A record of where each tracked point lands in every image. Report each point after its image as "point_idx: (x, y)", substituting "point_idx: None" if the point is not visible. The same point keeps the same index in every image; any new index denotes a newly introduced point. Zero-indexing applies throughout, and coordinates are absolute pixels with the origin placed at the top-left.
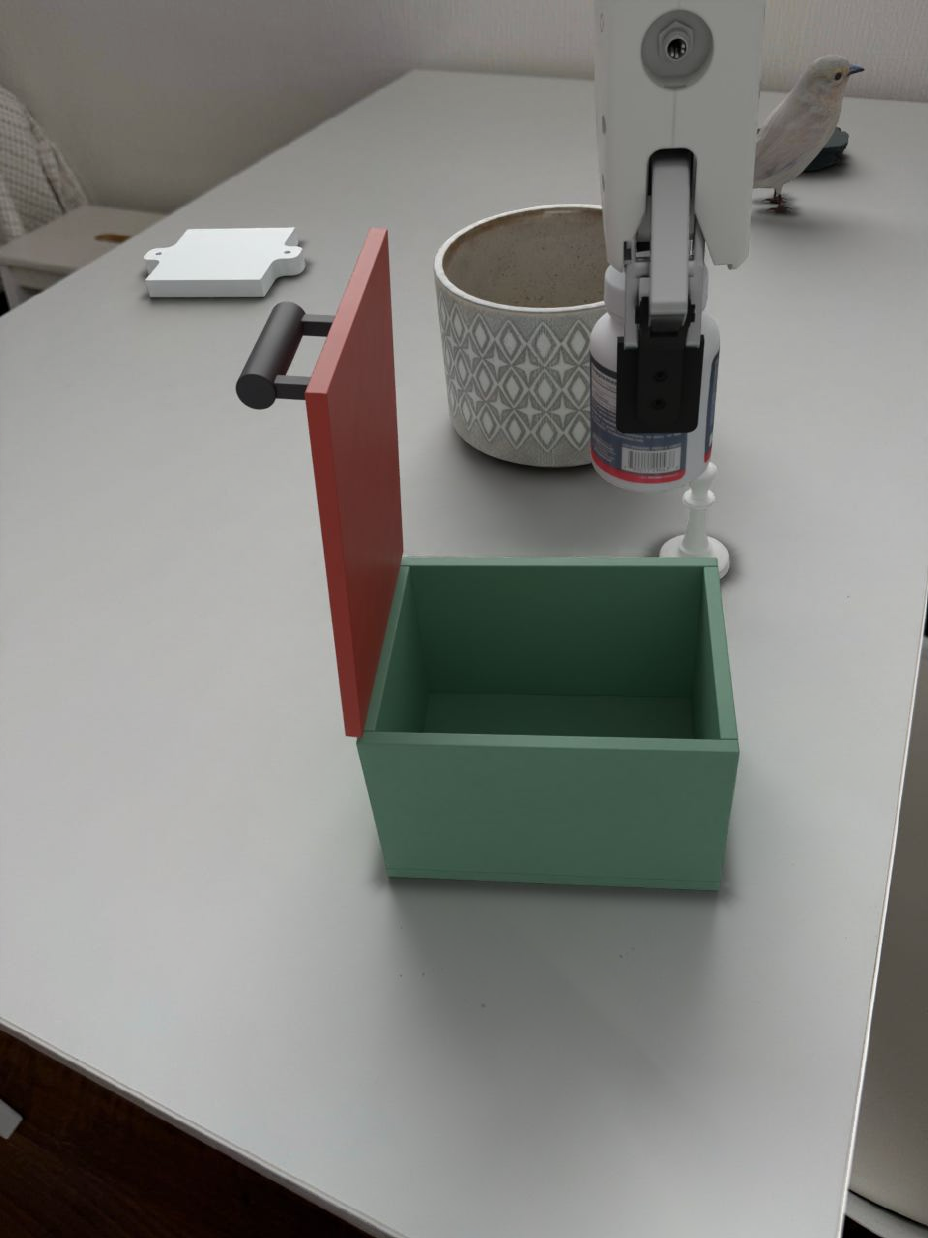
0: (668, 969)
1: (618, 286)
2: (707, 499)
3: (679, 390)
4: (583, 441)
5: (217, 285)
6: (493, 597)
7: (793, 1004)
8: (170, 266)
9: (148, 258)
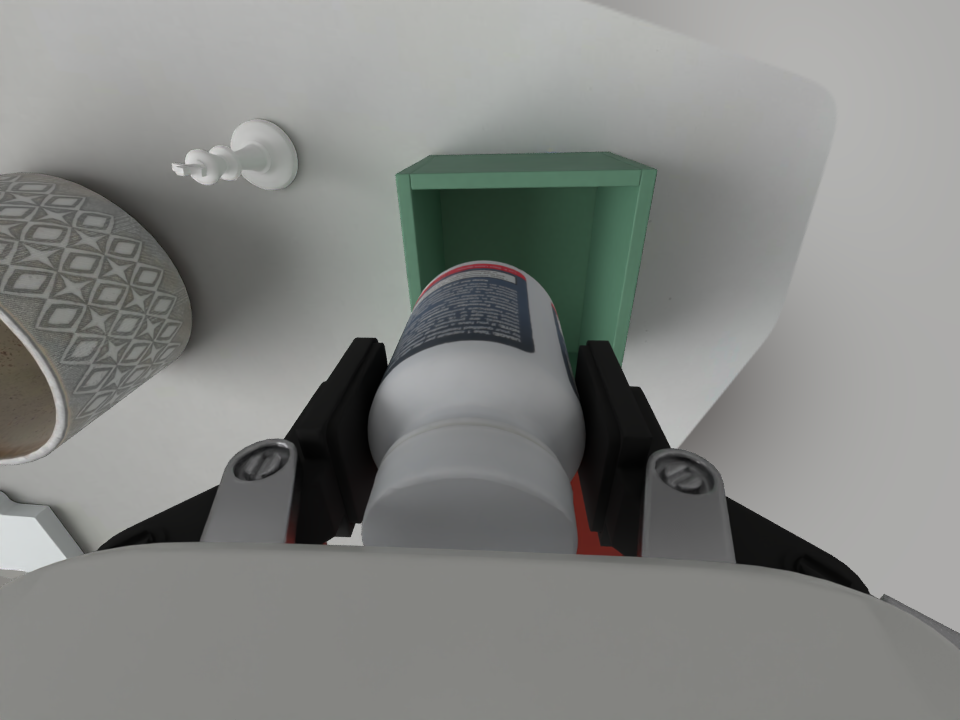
0: (663, 190)
1: None
2: (225, 155)
3: (655, 417)
4: (154, 269)
5: (57, 536)
6: None
7: (702, 101)
8: None
9: None
